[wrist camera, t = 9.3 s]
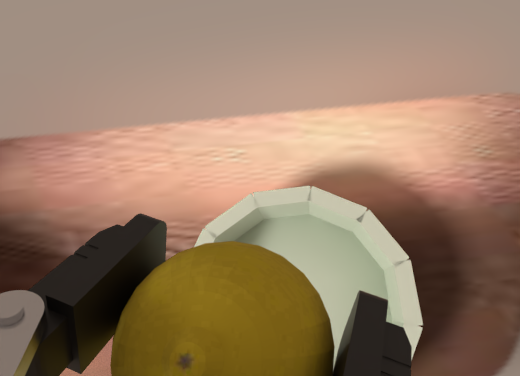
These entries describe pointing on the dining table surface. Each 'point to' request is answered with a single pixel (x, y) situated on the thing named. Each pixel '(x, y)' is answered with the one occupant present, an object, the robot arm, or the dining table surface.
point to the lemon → (224, 318)
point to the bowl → (327, 251)
